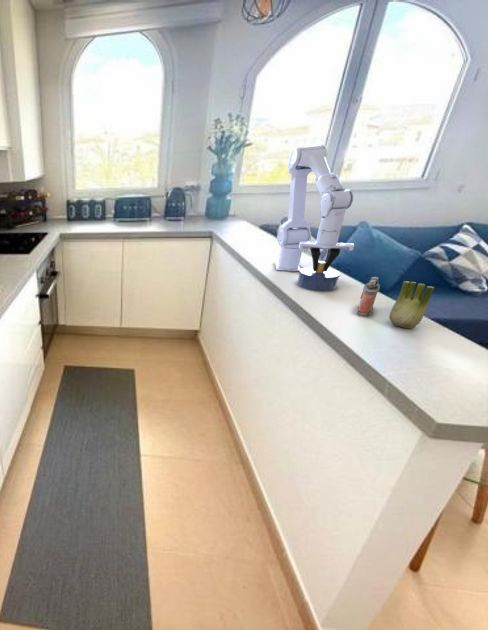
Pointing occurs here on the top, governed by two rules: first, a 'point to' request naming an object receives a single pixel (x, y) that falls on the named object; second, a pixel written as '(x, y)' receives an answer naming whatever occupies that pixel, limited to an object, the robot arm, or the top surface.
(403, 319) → the fennel bulb
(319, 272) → the tin lid
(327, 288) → the bowl
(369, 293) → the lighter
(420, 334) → the top surface
